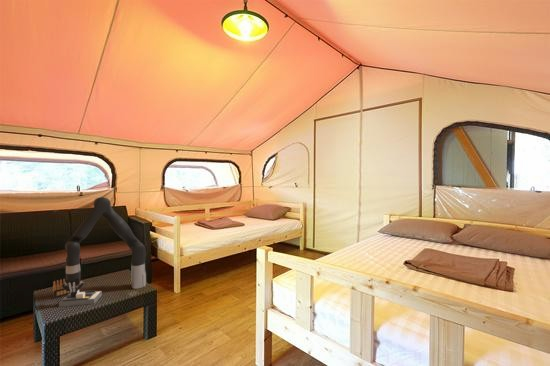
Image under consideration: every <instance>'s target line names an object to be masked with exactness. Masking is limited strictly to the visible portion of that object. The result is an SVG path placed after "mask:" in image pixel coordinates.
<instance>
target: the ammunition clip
mask: <svg viewBox="0 0 550 366" xmlns="http://www.w3.org/2000/svg"><path fill="white" fill-rule="evenodd" d="M65 281H66V277H65V278H63V280H62V278H60V280H59V279H57V280H54V281H53V283H52V284H53V285H52V298H53V299H57V298H60V297H65V296H67V295H68V294H70V291H66V290H65V289H64V288H63V287H62V284H64V283H65Z"/></svg>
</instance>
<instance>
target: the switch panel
mask: <svg viewBox="0 0 550 366" xmlns="http://www.w3.org/2000/svg"><path fill="white" fill-rule="evenodd" d="M79 292H85V297H84V298H78V299H76V296H75V297H71V295H70V294H68V295H65V296H63V298H62V299H60V301H58V307H59V308H61V307H62V308H64V307H72V306H73V307H74V306H82V305H92V304H93V305H94V304H96V302H97V301H98V300H99V299H100V298H101V297H102V294H103V291H102V290H96V289H94V290H82V291H81V290H79Z"/></svg>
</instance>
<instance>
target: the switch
mask: <svg viewBox="0 0 550 366" xmlns="http://www.w3.org/2000/svg"><path fill="white" fill-rule="evenodd" d="M84 297H85V292H80V291H79V292H78V293H77V294H76V299H78V298H84Z"/></svg>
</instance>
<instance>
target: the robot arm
mask: <svg viewBox="0 0 550 366" xmlns="http://www.w3.org/2000/svg"><path fill="white" fill-rule="evenodd" d="M102 216H103V218H104V219H105V220H106V222H107V223H108V225H109V226H110V227H111V229H112V230H113V231H114V233H115V234H116V235H117V236H118V237H119V238H120V239H122V240H123V241H124V242H125V243H126V245H127V246H128V248H129V249H130V252H131V263H130V266H131V267H130V268H131V272H130V274H131V277H130V279H131V288H132V289H134V290H136V289H141V288H145V286H146V285H147V272H146V257H147V252H146V246H145V245H144V243H142V241H140V240H139V239H138V238H137V237H136V236H135V234H134V233H133V231H132V229H131V227H130V225H129V224H128V223H127V222H126V221H125V220H124V218H122V216H121V215H119V214H118V213H117V212H116V211H115V210H114V208H113V207H112V206H111V200H110V199H109V198H108V197H104V196H99V197H97V198H95V199H94V201H93V208H92V210H91V212H90V214H88V216H87V217H86V218H85V219H84V220H83V221H82V222H81V224H80V225H79V227H78V228H76V230H75V231H74V233H73V234H72V235H71V237H70V238H68V240H67V241H66V242H65V244H64V249H65V250H66V258H65V283H64V284H63V283H62V287H63V288H64V289H65V290H66V291H70V292H71V297H75V296H76V294H77V291H78V290H79V291H80V290H81V288H82V287H83V286H84V285H85V283H86V282H85V281H82V279H81V264H80V262H81V260H80V254H81V245H80V243H81V242H82V241H83V240H85V239H86V238H87V237H88V235H89V233H90V232H91V231H92V230H93V228H94V227H95V225H96V223H97V222H98V221H99V219H100V218H101V217H102Z"/></svg>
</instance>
